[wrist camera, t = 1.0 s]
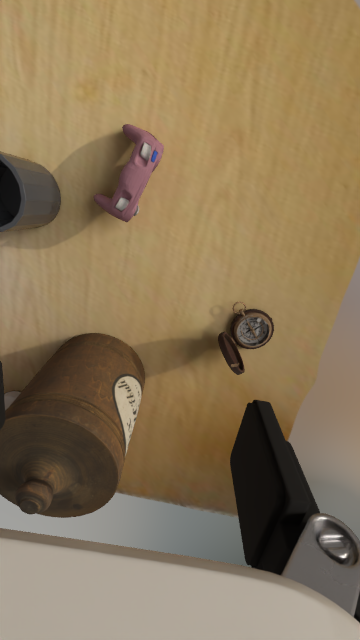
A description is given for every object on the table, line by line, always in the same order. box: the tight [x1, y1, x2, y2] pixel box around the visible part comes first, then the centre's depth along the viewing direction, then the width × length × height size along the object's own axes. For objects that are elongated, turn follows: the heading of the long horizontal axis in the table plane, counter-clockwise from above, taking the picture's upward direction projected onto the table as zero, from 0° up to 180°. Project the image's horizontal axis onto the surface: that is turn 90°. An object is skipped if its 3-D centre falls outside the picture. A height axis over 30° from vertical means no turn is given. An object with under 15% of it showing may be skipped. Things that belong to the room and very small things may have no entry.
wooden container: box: [0, 333, 145, 518], centre depth 36 cm, size 15×15×22 cm
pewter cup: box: [0, 151, 61, 232], centre depth 33 cm, size 8×8×8 cm
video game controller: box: [94, 124, 164, 222], centre depth 33 cm, size 10×5×7 cm, turn 150°
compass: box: [218, 302, 274, 375], centre depth 39 cm, size 8×8×7 cm
